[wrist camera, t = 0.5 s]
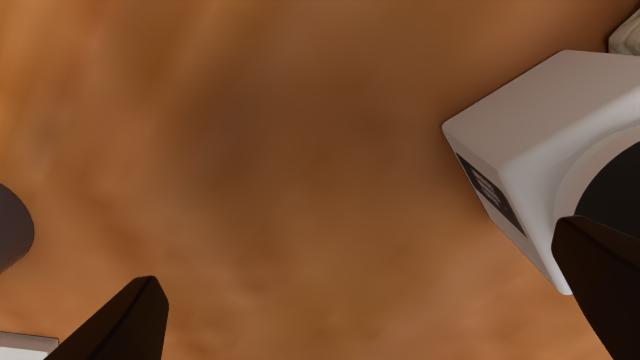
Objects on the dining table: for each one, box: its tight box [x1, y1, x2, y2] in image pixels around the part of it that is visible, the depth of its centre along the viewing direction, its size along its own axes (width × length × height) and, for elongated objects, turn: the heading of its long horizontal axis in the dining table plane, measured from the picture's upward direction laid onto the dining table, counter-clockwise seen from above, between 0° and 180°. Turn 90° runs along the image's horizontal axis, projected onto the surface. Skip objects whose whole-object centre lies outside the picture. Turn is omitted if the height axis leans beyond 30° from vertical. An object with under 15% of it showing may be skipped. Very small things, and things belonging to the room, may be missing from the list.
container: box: [442, 50, 640, 295], centre depth 17 cm, size 8×8×13 cm
